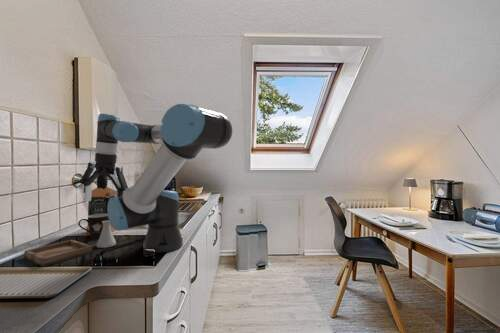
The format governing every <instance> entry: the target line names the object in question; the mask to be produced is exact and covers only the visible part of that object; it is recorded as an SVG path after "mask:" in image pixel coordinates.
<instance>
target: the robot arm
mask: <svg viewBox="0 0 500 333" xmlns="http://www.w3.org/2000/svg"><path fill="white" fill-rule="evenodd" d="M97 118H98V119H97V121H96V122H97V126H96V128H97V129H96V140H95V141H96V142H95V143H96V144H95V156H94V161H93V162H88V164H87V167H86V170H85V171H84V173H83V175H82V176H81V177H80V180H79V184H80V185H81V184H82V185H83V194H84V200H83V201H84V203H87V202H88V201H91V195H92V190H93V185H92V183H94V181H96V180H97V177H98V176H99V175H103V176H106V177H108V178H107V179H110V181H111V183H112V184H113V186H114V188H115V189H116V190H117V191H116V190H115V191H116V193H115V197H114V198H111V199H110V200H109V202H108V207H107V211H108V217H109V221H110V223H111V225H112V227H113V228H114V229H116V230H115V231H124V230H125V231H127V230H131V229H134V228H138V227H143V226H146V225H147V231H146V234H145V238H144V240H143V244H142V246H143V250H144V249H154V250H155V252H156V253H167V252H172V251H176V250H178V249H181V248H182V247H183V244H184V243H183V242H184V241H183V240H184V239H183V237H182V234H181V231H180V230H181V229H180V228H179V206H180V205H179V203H180V201H179V193H178V192H177V191H175V190H166V189H165V188H166V187H167V186H168V185H169V183H170V182H171V181H172V180H173V178H174V177H175V176H176V175H177V173H178V172H179V170H181V168H182V167H183V166H184V165H185V163H186V161H187V160H189V161H190V160H193V159H195V158H196V157H197V156H198V154H199V153H200V152H201V151H202V150H203V149H215V150H216V149H220V148H223V147H225V146H226V145H227V144H229V141H230V140H231V139H232V136H233V126H232V123H231V120H230V119H229V118H228V117H227V116H226V115H225V114H223V113H221V112H219V111H214V110H210V109H206V108H203V107H198V106H197V105H194V104H187V103H179V104H178V103H177V104H175V105H173V106H171V107H170V108H169V109H167V110H166V111H165V113H164V115H163V116H162V119H161V124H156V125H152V124H143V123H136V122H130V121H125V120H120V116H118V115H114V114H108V113H99V114H98V117H97ZM119 142H122V143H139V144H143V143H144V144H151V145H161V146H160V147H159V148H158V150H157V152H156V153H155V155H153V157H152V158H151V160H150V161H149V163H148V164H147V166H146V167H145V169H144V170H143V171H142V173H141V175H140V176H139V177H138V179H137V181H136V182H135V183H134V185H131V186H129V185H128V183H127V181H126V178H125V175H124V172H123V169H124V168H123V166H116V163H117V158H118V155H117V153H118V144H119ZM128 186H129V187H128ZM155 252H154V253H155Z"/></svg>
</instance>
